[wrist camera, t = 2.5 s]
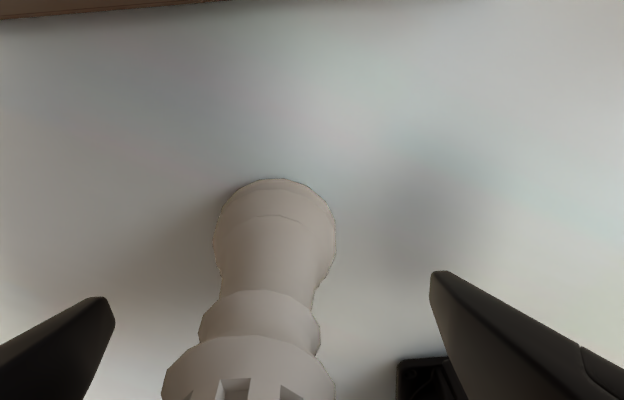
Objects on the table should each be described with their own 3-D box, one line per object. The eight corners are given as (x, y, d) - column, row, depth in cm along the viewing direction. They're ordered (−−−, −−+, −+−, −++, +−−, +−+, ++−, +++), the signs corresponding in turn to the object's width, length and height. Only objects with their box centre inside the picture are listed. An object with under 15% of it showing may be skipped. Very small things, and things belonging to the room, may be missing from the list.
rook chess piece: (298, 292, 14) (292, 553, 6) (201, 246, 13) (60, 492, 5) (357, 209, 12) (437, 423, 5) (252, 151, 11) (158, 307, 4)
